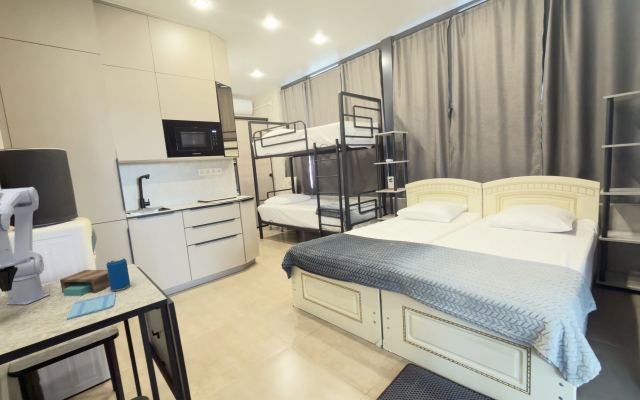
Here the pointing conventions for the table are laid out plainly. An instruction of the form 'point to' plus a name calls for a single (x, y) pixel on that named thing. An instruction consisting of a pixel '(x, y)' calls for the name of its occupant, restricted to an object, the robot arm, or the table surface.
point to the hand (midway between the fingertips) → (6, 290)
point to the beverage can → (118, 273)
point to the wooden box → (88, 279)
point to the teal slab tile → (78, 289)
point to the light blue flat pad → (92, 305)
